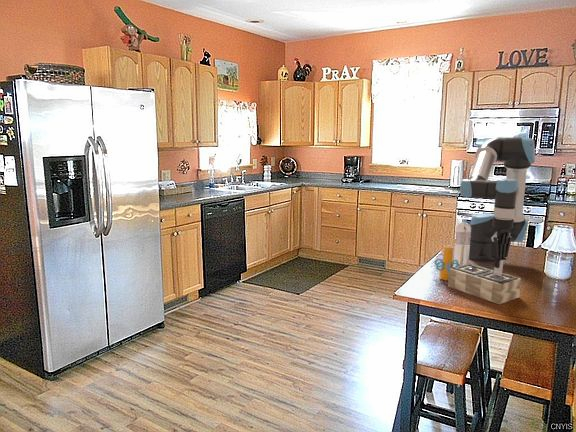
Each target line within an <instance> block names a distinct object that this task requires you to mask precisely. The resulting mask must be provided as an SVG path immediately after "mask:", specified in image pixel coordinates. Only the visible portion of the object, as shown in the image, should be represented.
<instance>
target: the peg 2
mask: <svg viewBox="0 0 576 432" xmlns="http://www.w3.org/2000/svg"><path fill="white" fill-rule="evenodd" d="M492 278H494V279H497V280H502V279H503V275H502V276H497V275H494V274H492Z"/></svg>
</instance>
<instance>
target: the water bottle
mask: <svg viewBox="0 0 576 432" xmlns="http://www.w3.org/2000/svg"><path fill="white" fill-rule="evenodd" d="M455 230H456V231H455V241H454V249H453V260H457V261H458V263H459V264H460V266H461V265H464V264H470V263H469V262H470V261H469V260H470V259H469V253H470V252H469V251H470V238H471V230H472V229H471V225H470V223H468V222H467V218H463V219H462V221H461V222H460V223H458V224H457V226H456V229H455ZM454 262H456V261H454ZM455 266H456V264H454V265H453V267H455Z"/></svg>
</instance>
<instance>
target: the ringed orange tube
mask: <svg viewBox="0 0 576 432" xmlns="http://www.w3.org/2000/svg"><path fill="white" fill-rule="evenodd" d="M437 261H438V262H437ZM454 261H456V262H454ZM439 264H440V265H439ZM454 264H456V266H455V267H457V266H460V264H459V263H458V261H457V260H454V246H452V245H444V246H443V254H442V258H436V259H435V260H434V265H435V267H436V270H438V271H439V279H440V280H443V281H448V278H449V269H450V268H453V265H454Z"/></svg>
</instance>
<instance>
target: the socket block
mask: <svg viewBox="0 0 576 432" xmlns="http://www.w3.org/2000/svg"><path fill="white" fill-rule="evenodd" d="M467 267H475V268H477V270H476V272H471V271H467V270H466V269H467ZM492 274H494V269H489V268H486V267H482V266H479V265H477V264H472V263H469V264H464V265H461V266H457V267H453V268H450V269H449V278H448V280H447V287H448V288H451V289H454V290H458V291H460V292H464V293H465V294H469V295H471V296H474V297H477V298H481V299H483V300H486V301H489V302H492V303H494V304H497V305H502V304H504V303H507V302H509V301H513V300H515V299H518V298H520V295H521V294H520V293H521V284H522V278H521V277H518V276H513V275H510V274H507V273H503V272H502V275H503V279H502V280H497V279H494V278H492Z"/></svg>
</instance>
